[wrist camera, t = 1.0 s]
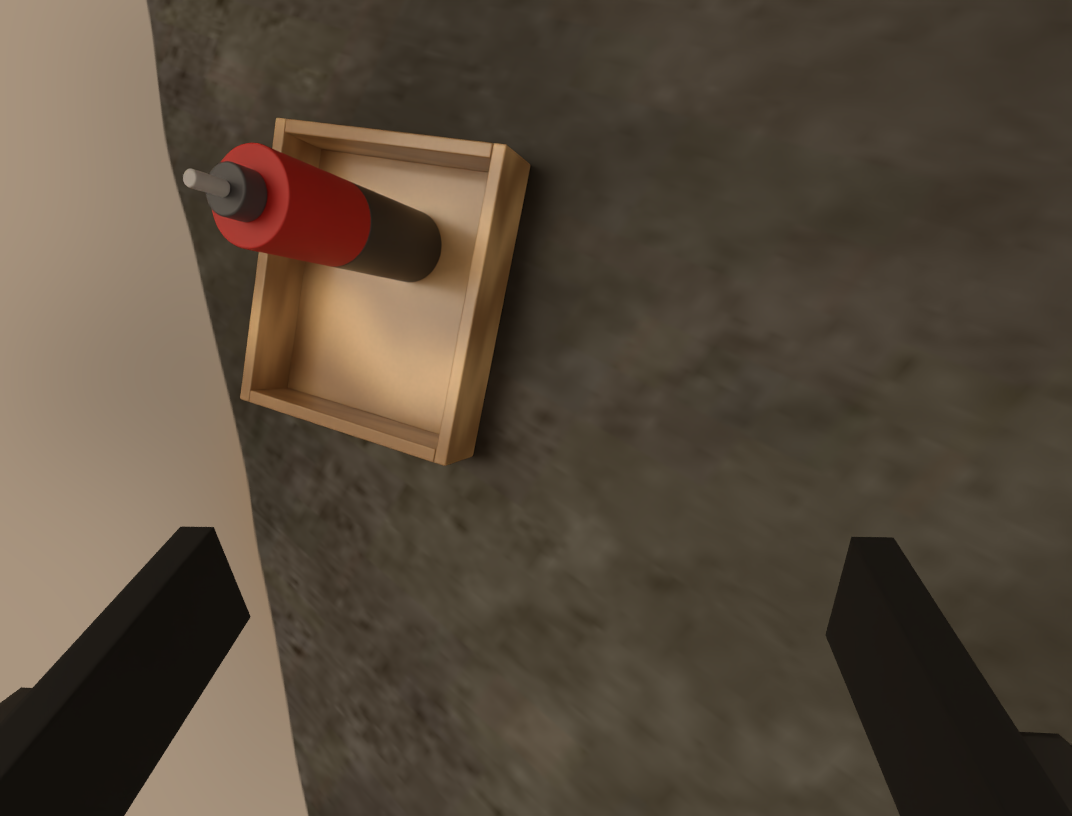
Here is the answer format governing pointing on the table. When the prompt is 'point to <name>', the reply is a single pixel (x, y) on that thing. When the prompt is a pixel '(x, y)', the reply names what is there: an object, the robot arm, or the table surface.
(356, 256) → the red squeeze bottle
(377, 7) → the table surface
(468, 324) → the storage box
